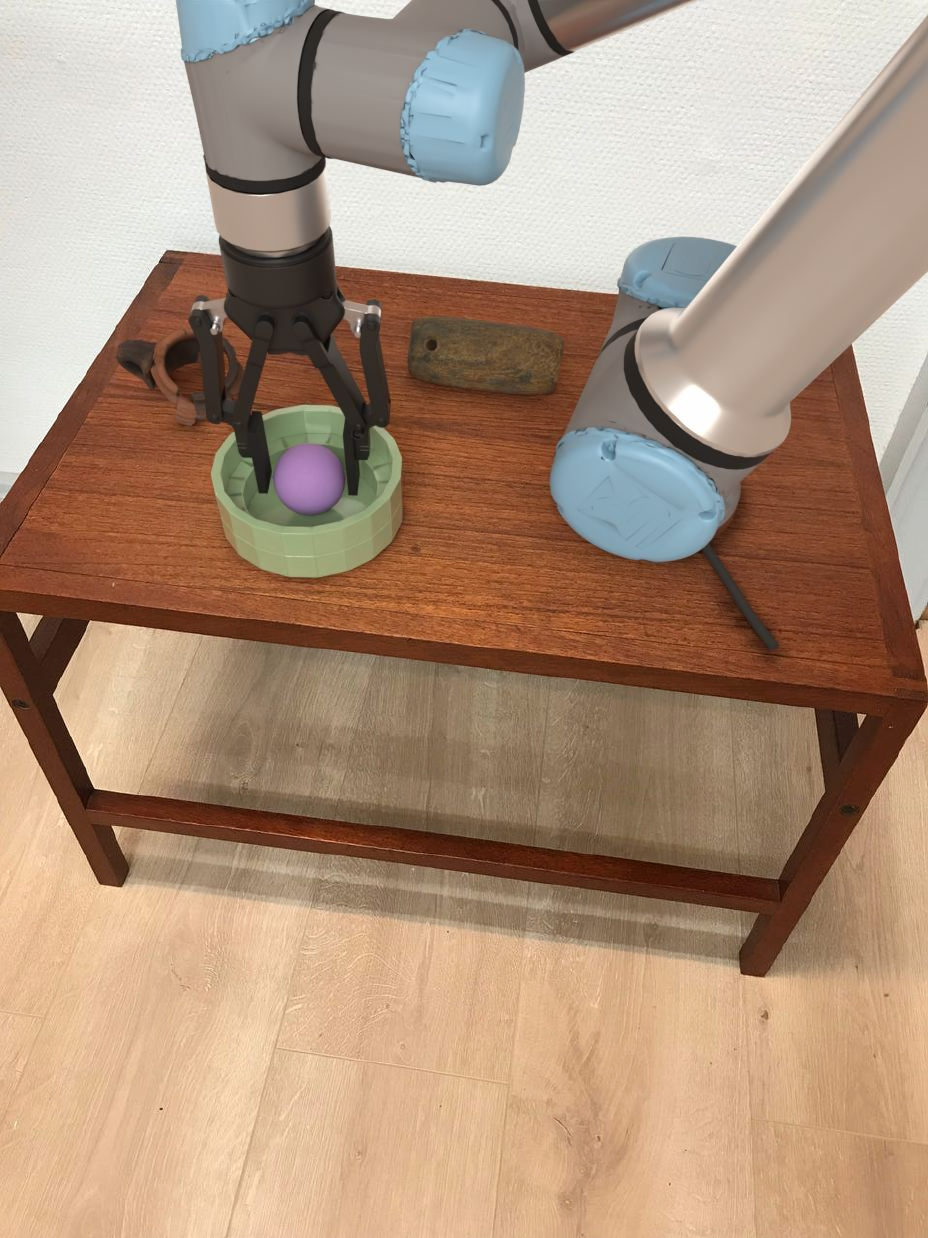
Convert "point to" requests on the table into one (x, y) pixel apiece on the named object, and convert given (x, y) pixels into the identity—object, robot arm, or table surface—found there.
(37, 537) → the table surface
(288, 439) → the bowl
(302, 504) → the ball
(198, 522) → the table surface
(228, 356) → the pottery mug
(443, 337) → the stone weight
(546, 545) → the table surface
